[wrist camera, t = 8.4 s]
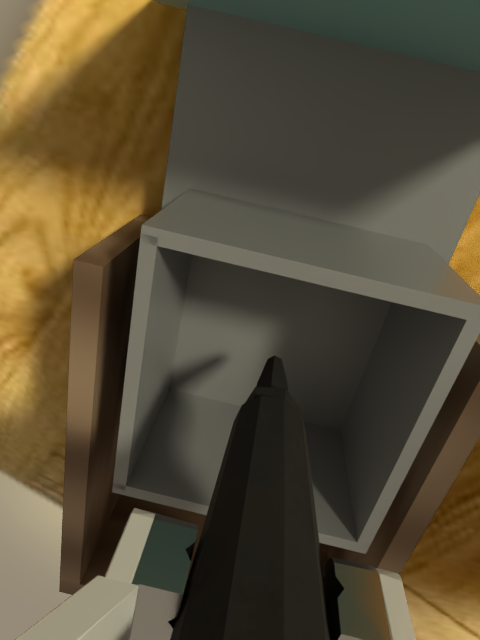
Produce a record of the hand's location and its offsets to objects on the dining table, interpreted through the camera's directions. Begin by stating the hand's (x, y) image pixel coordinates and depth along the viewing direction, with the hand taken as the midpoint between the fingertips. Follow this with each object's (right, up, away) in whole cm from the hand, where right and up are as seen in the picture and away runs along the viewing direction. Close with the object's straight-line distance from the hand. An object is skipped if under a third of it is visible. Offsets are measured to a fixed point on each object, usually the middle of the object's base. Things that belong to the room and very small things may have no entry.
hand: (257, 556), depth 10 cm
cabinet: (+2, +8, +10) cm, 13 cm away
